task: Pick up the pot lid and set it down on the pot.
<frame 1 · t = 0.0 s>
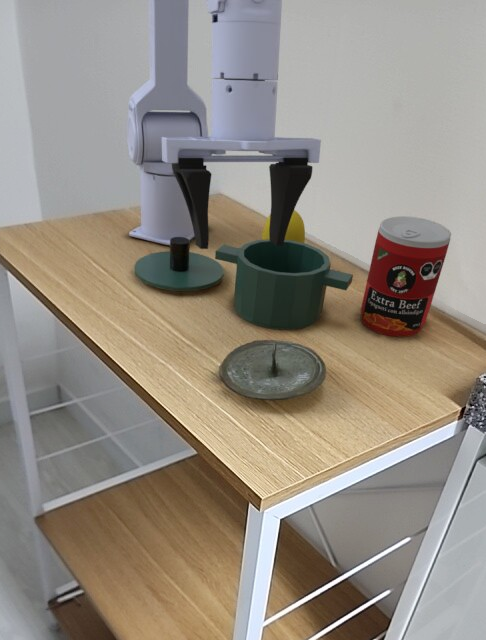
hand: (239, 245, 62), 11 cm above the shelf rack, tool pointing down, fingers open, 7 cm apart
metal candle holder: (270, 384, 63), on the shelf rack
lemon: (279, 268, 86), on the shelf rack
canned food: (390, 323, 76), on the shelf rack
pot: (277, 309, 76), on the shelf rack
pot lid: (179, 271, 81), point 1 cm above the shelf rack
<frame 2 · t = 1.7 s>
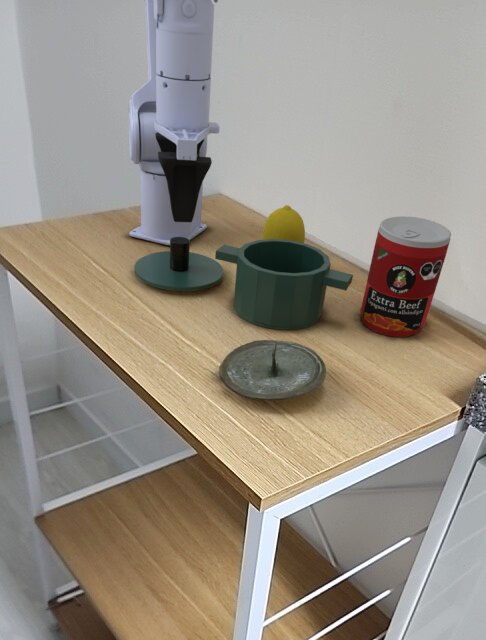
hand: (180, 209, 76), 8 cm above the shelf rack, tool pointing down, fingers open, 7 cm apart
nothing on the shelf rack moved.
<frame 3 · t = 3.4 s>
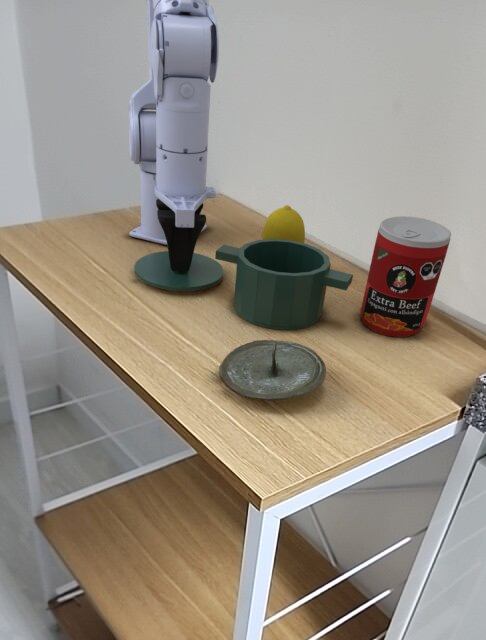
hand: (179, 265, 80), 1 cm above the shelf rack, tool pointing down, fingers closed on pot lid, 2 cm apart
pot lid: (179, 271, 81), point 1 cm above the shelf rack, touching gripper
everything else where it was.
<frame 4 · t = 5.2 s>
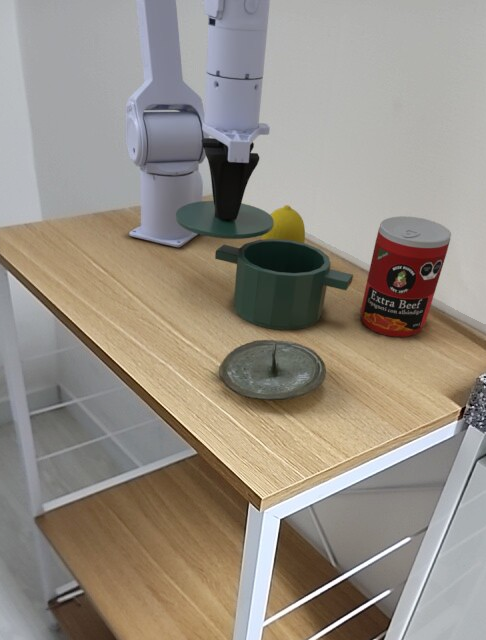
hand: (225, 214, 73), 9 cm above the shelf rack, tool pointing down, fingers closed on pot lid, 2 cm apart
pot lid: (224, 221, 73), point 8 cm above the shelf rack, touching gripper
everything else where it was.
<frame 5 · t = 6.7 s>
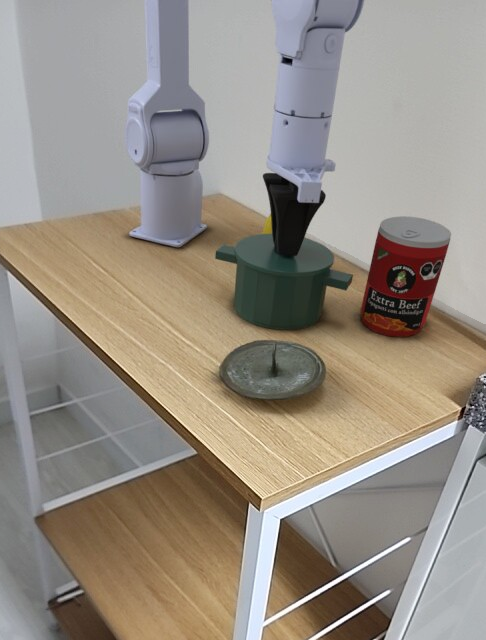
hand: (285, 249, 71), 7 cm above the shelf rack, tool pointing down, fingers closed on pot lid, 2 cm apart
pot lid: (283, 256, 72), point 6 cm above the shelf rack, touching gripper, pot
everything else where it was.
when the fingers open (7 cm above the shelf rack, at t = 6.9 s): pot lid stays where it is, point 7 cm above the shelf rack.
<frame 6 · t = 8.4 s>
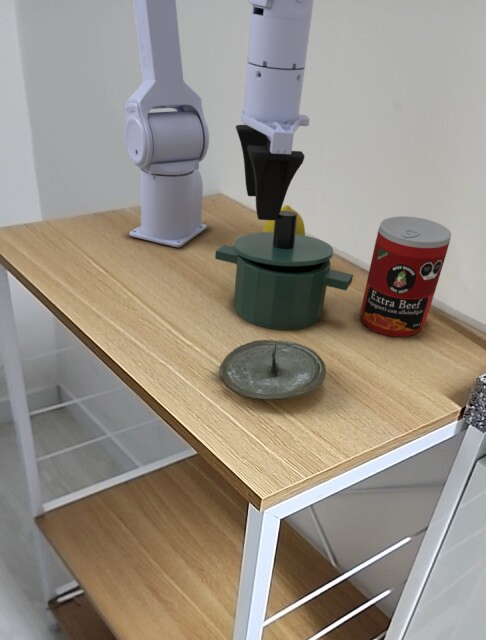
hand: (261, 206, 72), 10 cm above the shelf rack, tool pointing down, fingers open, 7 cm apart
pot lid: (282, 250, 72), point 7 cm above the shelf rack
everything else where it was.
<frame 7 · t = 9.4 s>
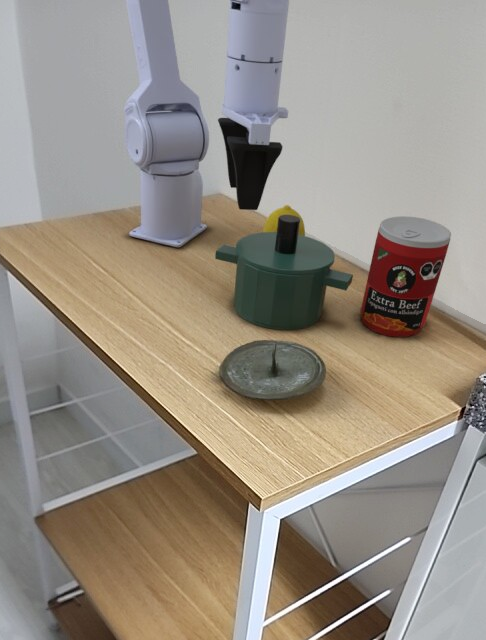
hand: (243, 197, 74), 10 cm above the shelf rack, tool pointing down, fingers open, 7 cm apart
pot lid: (284, 254, 72), point 6 cm above the shelf rack, touching pot
everything else where it was.
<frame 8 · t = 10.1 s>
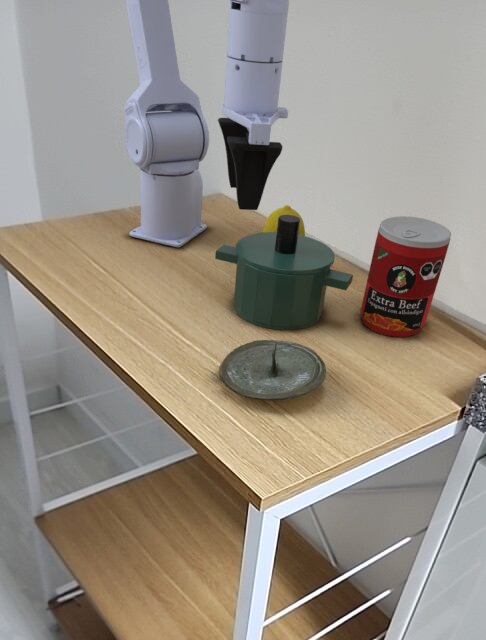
hand: (243, 197, 74), 10 cm above the shelf rack, tool pointing down, fingers open, 7 cm apart
nothing on the shelf rack moved.
at the end: pot lid 0.6 cm off-centre on the pot, point 6.4 cm above the pot's base; pot lid tilted 0°; the gripper is holding nothing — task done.
